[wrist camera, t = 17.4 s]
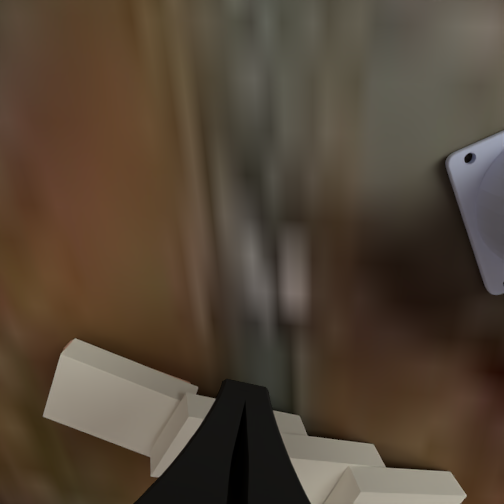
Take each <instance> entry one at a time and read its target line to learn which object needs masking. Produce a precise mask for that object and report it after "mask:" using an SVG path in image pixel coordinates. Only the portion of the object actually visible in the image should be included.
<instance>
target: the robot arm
mask: <svg viewBox="0 0 504 504" xmlns="http://www.w3.org/2000/svg"><path fill="white" fill-rule="evenodd" d="M468 153H471V154H472V159H471V161H470V162H468V163H465V161H464V157H465V156H466V155H467V154H468ZM445 166H446V170H447V173H448V176H449V179H450V182H451V185H452V188H453V191H454V194H455V197H456V200H457V203H458V206H459V209H460V212H461V215H462V218H463V221H464V225H465V228H466V231H467V234H468V237H469V240H470V243H471V246H472V249H473V252H474V255H475V258H476V261H477V264H478V267H479V270H480V273H481V276H482V280H483V283H484V286H485V288H486V290H487V291H488V292H489V293H491V294H492V295H500V294H503V293H504V285H503V282H504V130H503V131H501V132H498V133H496V134H494V135H492V136H489V137H487V138H485V139H483V140H480V141H478V142H476V143H473V144H471V145H469V146H467V147H464V148H462V149H460V150H458V151H455V152H453V153H452V154H450V155H449V156H448V157H447V159H446V162H445ZM134 504H311V503H310V501H309V499H308V497H307V495H306V493H305V491H304V489H303V487H302V485H301V483H300V481H299V478H298V476H297V474H296V472H295V469H294V467H293V465H292V463H291V460H290V458H289V455H288V453H287V450H286V448H285V445H284V442H283V440H282V437H281V434H280V431H279V428H278V426H277V422H276V419H275V416H274V413H273V409H272V405H271V401H270V397H269V392H268V390H267V388H266V387H262V386H257V385H253V384H248V383H243V382H239V381H234V380H229V379H226V380H224V381H222V385H221V388H220V391H219V393H218V395H217V397H216V399H215V401H214V403H213V405H212V407H211V408H210V410H209V412H208V413H207V415H206V417H205V418H204V420H203V421H202V423H201V425H200V426H199V428H198V429H197V431H196V432H195V433H194V435H193V436H192V437H191V439H190V440H189V441H188V443H187V444H186V446H185V447H184V448H183V450H182V451H181V452H180V453H179V455H178V456H177V457H176V458H175V460H174V461H173V462H172V463H171V464H170V466H169V467H168V468H167V469H166V470H165V471H164V472H163V474H162V475H161V476H160V477H159V478H158V479H157V480H156V481H155V482H154V483H153V484H152V485H151V486H150V487H149V488H148V490H147V491H146V492H145V493H144V494H143V495H142V496H141V497H140V498H139V499H138V500H137V501H136V502H135V503H134Z"/></svg>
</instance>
